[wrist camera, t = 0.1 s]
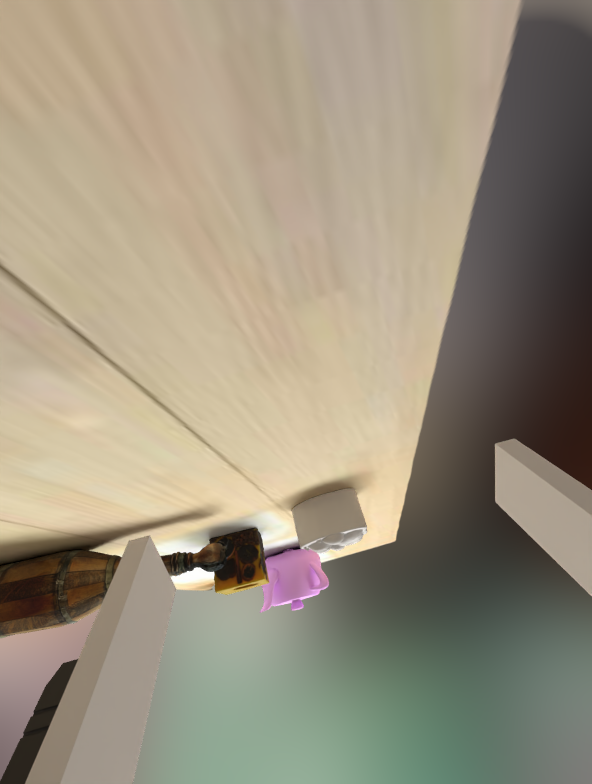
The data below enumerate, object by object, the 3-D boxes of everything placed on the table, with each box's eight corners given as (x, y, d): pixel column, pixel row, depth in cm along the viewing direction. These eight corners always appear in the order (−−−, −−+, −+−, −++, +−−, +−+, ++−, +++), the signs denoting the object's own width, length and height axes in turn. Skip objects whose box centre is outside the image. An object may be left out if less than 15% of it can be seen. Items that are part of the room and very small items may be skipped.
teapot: (333, 540, 108) (348, 595, 99) (284, 559, 117) (294, 611, 109) (284, 541, 91) (297, 606, 83) (232, 563, 101) (239, 624, 93)
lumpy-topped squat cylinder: (356, 499, 73) (370, 542, 68) (296, 516, 73) (306, 560, 69) (354, 485, 64) (370, 533, 59) (286, 504, 65) (297, 554, 60)
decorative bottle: (-35, 605, 59) (232, 548, 67) (-80, 676, 50) (236, 600, 58) (-67, 562, 54) (225, 506, 62) (-124, 631, 45) (227, 555, 53)
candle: (208, 538, 72) (213, 592, 66) (257, 526, 73) (265, 579, 67) (218, 547, 80) (223, 596, 75) (262, 536, 81) (270, 583, 76)
